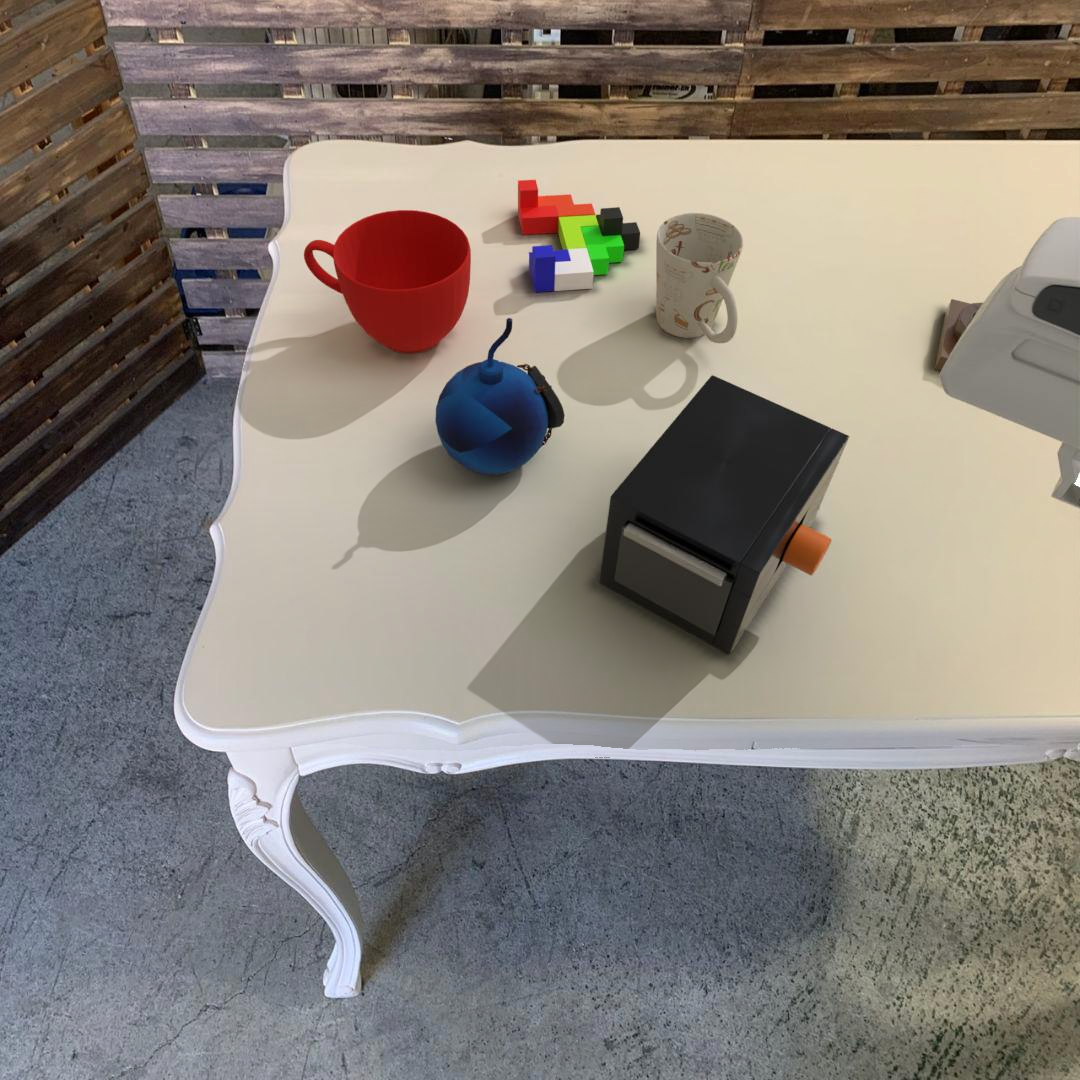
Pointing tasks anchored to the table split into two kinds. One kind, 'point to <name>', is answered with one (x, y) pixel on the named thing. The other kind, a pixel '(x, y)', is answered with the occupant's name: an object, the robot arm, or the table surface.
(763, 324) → the table surface
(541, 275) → the building blocks
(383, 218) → the ceramic cup
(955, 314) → the button block
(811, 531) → the oven button
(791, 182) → the table surface
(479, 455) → the bomb
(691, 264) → the mug
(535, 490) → the table surface
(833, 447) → the oven
